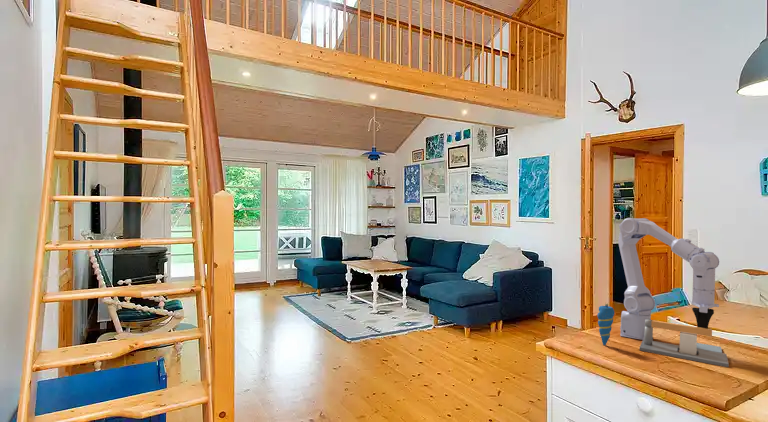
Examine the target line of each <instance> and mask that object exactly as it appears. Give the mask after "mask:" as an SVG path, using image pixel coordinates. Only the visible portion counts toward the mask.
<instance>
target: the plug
mask: <svg viewBox="0 0 768 422" xmlns="http://www.w3.org/2000/svg"><path fill="white" fill-rule="evenodd" d="M679 332H680V331H679ZM697 343H698V334H693V333H687V332H680V333H679V346H680V351H678V352H681V353H686V354H692V355H697V354H696V349H697Z"/></svg>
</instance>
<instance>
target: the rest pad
mask: <svg viewBox="0 0 768 422" xmlns="http://www.w3.org/2000/svg"><path fill="white" fill-rule="evenodd" d="M697 349H702V350H707V351H713V352H719V353H723V351H722V350H723V349H722V347H721V346H718V345H714V344H712V345H711V344H708V343H707V344H706V343H700V342H697Z"/></svg>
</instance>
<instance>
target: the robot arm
mask: <svg viewBox="0 0 768 422" xmlns="http://www.w3.org/2000/svg"><path fill="white" fill-rule="evenodd" d="M618 229H619V233H618V238H617V239H618V240H617V241H618V247H619V252H620V256H621V262H622V265H623V270H624V275H625V281H626V284H627V288H626V289H625V291H624V293H623V295H624V299H623V305H624V308H625V309H626V310H622V311H621V315H620V328H619V330H620V334H619V336H620V337H623V338H629V339H636V340H639V341H640V340H641V341H643V339H644V332H645V319H649V320H652V319H651V317H652V316H651V315H652V311H653V310H654V309H655V307H656V301H655V299H654V296H652V294H651V290H649V288H648V287H646V285H645V281H644V276H643V274H642V273H643V272H642V268H641V263H640V259H639V255H638V251H637V246H636V245H637V243H638V242H639V241H640V240H641V239H642V238H644V237H646V236H648V235H649V236H651V237H653V238H655V239H657V240H658V241H660V242H662V243H663V244H665V245H668V246H669V247H670V248H671V249H670V251H672V253H673V254H675V255H677V256H678V257H680V258H682V259H683V260H684V261H686V262H688V263H689V265H690V266H691V268H692V296H691V297H692V299H691V305H693V306H695V307H692V308H691V310H692V312H693V314H694V318H695V319H696V320H695V321H696V325H697V326H696V327H700V328H707V329H709V324H710V321H711V318H712V317H713V315H714V314H715V310H714V309H713V308H719V307H720V305H719V303H715V295H716V294H715V293H716V291H715V290H716V289H715V288H716V269H717V268H718V267H719V265H720V259H719V257H718V255H716V253H714V252H712V251H706V250H705V248H703V247H699V246H697V245H695V243H694V244H693V243H692V240H691V239H689V238H677V237H675V236H674V235H672V234H671V233H669V232H668V231H666V230H665V229H664V228H662V227H660V226H659V225H657V224H656V223H655V222H654V221H652V220H649V219H648V218H645V217H643V218H634V217H626V218H625V219H623V220H622V222H621V223H619V225H618Z"/></svg>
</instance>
